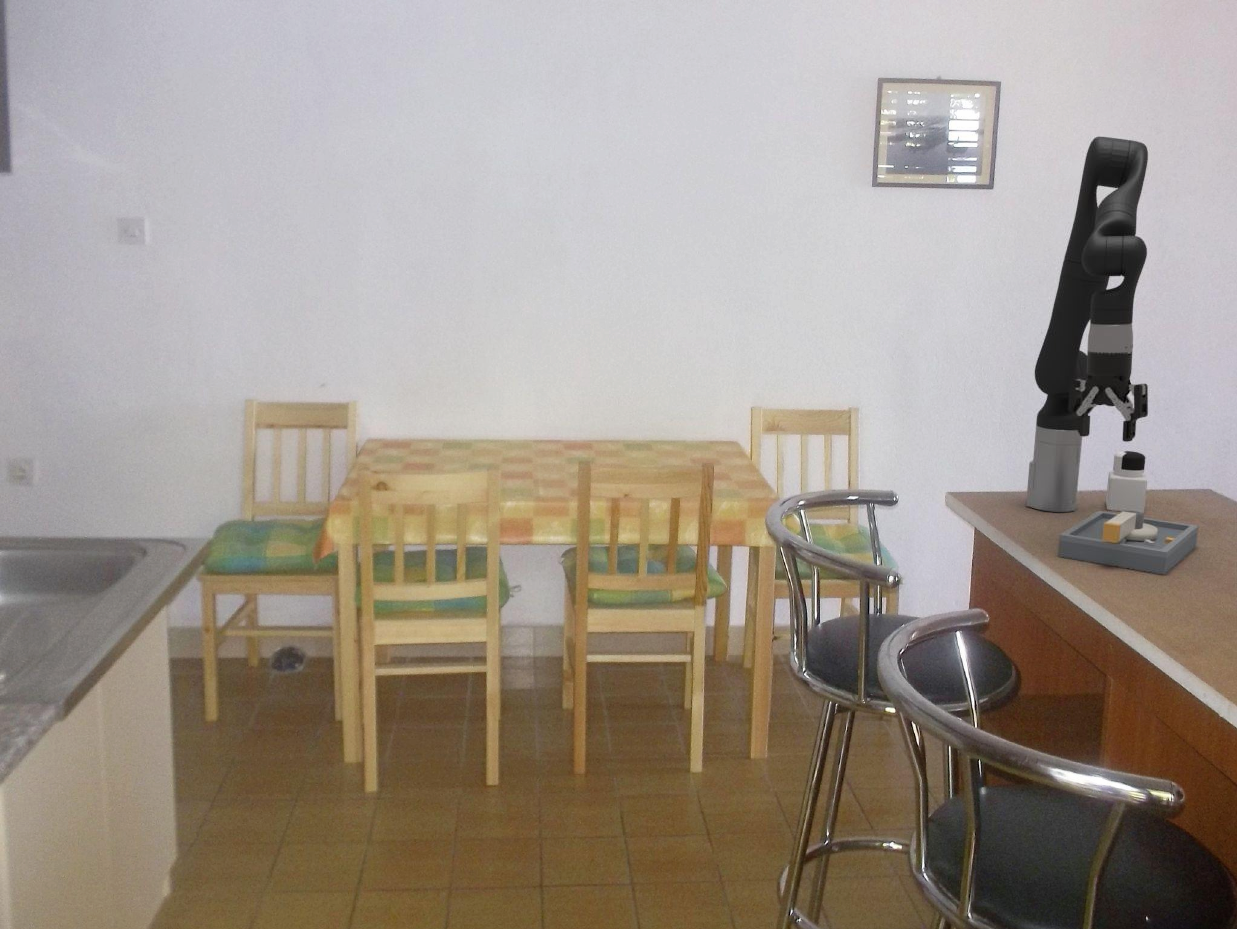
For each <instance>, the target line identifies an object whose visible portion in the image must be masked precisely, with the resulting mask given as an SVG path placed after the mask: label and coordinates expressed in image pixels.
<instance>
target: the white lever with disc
mask: <svg viewBox="0 0 1237 929" xmlns="http://www.w3.org/2000/svg"><path fill="white" fill-rule="evenodd" d="M1119 512H1120V513H1117V514H1118V515H1116V516H1115V517H1113V518H1112V519H1110V520H1109V521H1107V522H1105V523H1104V525H1103V535H1102V541H1107V542H1113V543H1118V542H1119V541H1120V540H1121V539H1123V538H1126V540H1133V541H1144V540H1154V539H1156V538H1157V530H1158V529H1157V528H1156V527H1155V526H1152V525H1149V524H1146V523H1143V520H1144V518H1145V513H1144V512H1143V513H1141V512H1137V511H1119Z"/></svg>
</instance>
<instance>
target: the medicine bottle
mask: <svg viewBox="0 0 1237 929" xmlns="http://www.w3.org/2000/svg"><path fill="white" fill-rule="evenodd" d="M1145 465H1146V456H1145V455H1144V454H1143V453H1141V452H1138V451H1132V450H1120V451H1117V452H1115V453H1114V454H1113V465H1112V470H1110V471H1108V478H1107V488H1106V498H1105V504H1106V509H1107V511H1114V512H1115V511H1117V512H1121V511H1137V512H1141V513H1143V514H1144V512H1145V506H1146V495H1147V486H1148V480H1147V479H1148V478H1147V477H1146V474H1145Z"/></svg>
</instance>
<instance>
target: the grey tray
mask: <svg viewBox="0 0 1237 929" xmlns="http://www.w3.org/2000/svg"><path fill="white" fill-rule="evenodd" d="M1118 514H1119V513H1116V512H1115V513H1114V512H1108V511H1102V510H1098V511H1096V512H1094V513H1092V514H1090V515H1089V516H1088V517H1086V518H1085V519H1082V520H1081V521H1079V522H1078V523H1076V524H1074V525H1073V526H1072V527H1070V528H1068V529H1067V530H1065V531H1064V532H1062V533H1060V534H1059V538H1058V539H1059V540H1058V550H1057V551H1058V552H1057V557H1060V558H1066V559H1072V560H1077V561H1082V560H1083V561H1082V562H1089V563H1094V564H1099V563H1100V564H1099V565H1104V566H1105V565H1106V566H1110V567H1116V566H1118V567H1117V568H1123V569H1127V568H1129V569H1128V570H1133V569H1134V570H1135V571H1138V572H1139V571H1140V572H1144V571H1145V573H1146V572H1147V573H1150V572H1151V574H1156V575H1161V576H1165V575H1166V574H1167V573H1168V572H1170V570H1171V569H1173V568H1174V567H1175V566H1176V565H1177V564H1178V563H1180V561H1181V560H1183V559H1184V558H1185V557H1186V556H1187V555H1188V554H1189V553H1191V552H1192V551H1193V550H1194V549H1195V548H1196V547H1197V540H1198V531H1199V525H1195V524H1188V523H1182V522H1176V521H1167V520H1163V519H1162V520H1161V519H1157V518H1156V519H1155V518H1149V517H1148V518H1147V517H1144V520H1143V523H1146V524H1149V525H1152V526H1155V527H1156V528H1157V529H1158V530H1157V538H1156V539H1154V540H1144V541H1133V540H1126V538H1123V539H1121V540H1120V541H1119V542H1118V543H1113V542H1107V541H1102V535H1103V525H1104V523H1105V522H1107V521H1109V520H1110V519H1112V518H1113V517H1115V516H1116V515H1118Z"/></svg>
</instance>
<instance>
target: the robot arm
mask: <svg viewBox="0 0 1237 929" xmlns="http://www.w3.org/2000/svg"><path fill="white" fill-rule="evenodd" d="M1148 160H1149V152H1148V147H1147V146H1146V144H1145V143H1143V142H1141V141H1137V140H1132V139H1123V138H1116V137H1109V136H1108V137H1106V136H1096V137H1094V138H1093V139H1092V140H1091V142H1090V143H1089V147H1088V148H1087V152H1086V156H1085V161H1084V166H1083V170H1082V175H1081V182H1080V188H1079V193H1078V199H1077V205H1076V210H1075V215H1074V219H1073V223H1072V228H1071V232H1070V236H1069V239H1068V243H1067V247H1066V251H1065V252H1064V253H1065V254H1064V257H1063V262H1062V266H1061V270H1060V275H1059V279H1058V285H1057V289H1056V292H1055V294H1056V295H1055V298H1054V302H1053V306H1052V312H1051V316H1050V321H1049V325H1048V327H1047V331H1046V334H1045V336H1044V339H1043V343H1042V345H1041V348H1040V351H1039V354H1038V357H1037V360H1036V364H1035V366H1034V379H1035V380H1034V381H1035V383H1036V385H1037V387H1038V389H1039V391H1041V392H1042V393H1043V394H1045V395H1047V396H1046V400H1045V402H1044V404H1043V406H1042V407H1041V409H1040V410H1039V411H1038V413H1037V414H1036V423H1035V425H1036V426H1035V433H1034V434H1035V435H1034V445H1033V456H1032V457H1033V459H1032V460H1030V462H1029V468H1028V475H1027V476H1028V477H1027V486H1026V487H1027V490H1026V498H1025V499H1026V500H1025V506H1026V507H1030V508H1033V509H1036V510H1039V511H1045V512H1050V513H1051V512H1052V513H1053V512H1054V513H1068V512H1069V513H1070V512H1074V511H1075V510H1076V505H1077V500H1078V499H1077V496H1078V495H1077V494H1078V487H1079V475H1080V465H1081V464H1080V463H1081V454H1082V445H1083V444H1082V443H1083V438H1084V437H1088V436H1090V431H1091V430H1090V428H1091V415H1090V414H1091V412H1092V411H1093V410H1094V408H1096V407H1097V406H1104V405H1105V406H1107V407H1115V408H1116V410H1117V411H1119V413H1121V416H1123V418H1124V420H1123V423H1122V441H1123V442H1125V443H1129V442H1132V441H1133V439H1134V438H1135V437H1136V429H1137V420H1139V419H1143V418H1146V417H1148V416H1149V415H1148V414H1149V405H1148V404H1149V403H1148V402H1149V401H1148V400H1149V398H1148V396H1149V394H1148V393H1149V390H1148V388H1149V387H1148V384H1147V383H1138V384H1135V383H1134V384H1133V383H1132V382H1131V376H1132V370H1133V369H1132V368H1133V365H1132V364H1133V351H1134V350H1133V348H1134V333H1133V318H1134V317H1133V316H1134V314H1133V313H1134V300H1135V295H1136V290H1137V287H1138V282H1139V280H1140V277H1141V275H1142V271H1143V269H1144V266H1145V263H1146V260H1147V258H1148V257H1147V256H1148V248H1147V245H1146V243H1145V240H1143V238H1141V237H1140V236H1137V235H1136V234H1137V220H1138V219H1137V218H1138V217H1137V214H1138V212H1137V211H1138V206H1139V203H1140V199H1141V196H1142V190H1143V188H1144V187H1143V186H1144V182H1145V178H1146V172H1147V168H1148ZM1098 187H1103V188H1104V187H1105V188H1113V189H1115V190H1113V191H1112V192H1110V193H1109V194H1107V195H1106V196H1105V197H1104V198H1103V199H1102V200H1101V202H1100V203H1099V204H1098V197H1097V192H1098ZM1111 277H1123V280H1122V282H1121V283H1120V284H1119V285H1117V286H1115V287H1112V288H1108V285H1109V282H1110V281H1109V280H1110V278H1111ZM1107 288H1108V289H1107ZM1089 323H1090V324H1089ZM1088 324H1089V330H1088V333H1087V334H1088V335H1087V352H1086V353H1085V352H1084V351H1083V350H1080V349H1081V345H1082V341H1083V337H1084V334H1085V331H1086V329H1087V326H1088ZM1130 393H1131V395H1132V396H1133V402H1132V400H1131V399H1130V397H1129V396H1128V395H1129V394H1130Z"/></svg>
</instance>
